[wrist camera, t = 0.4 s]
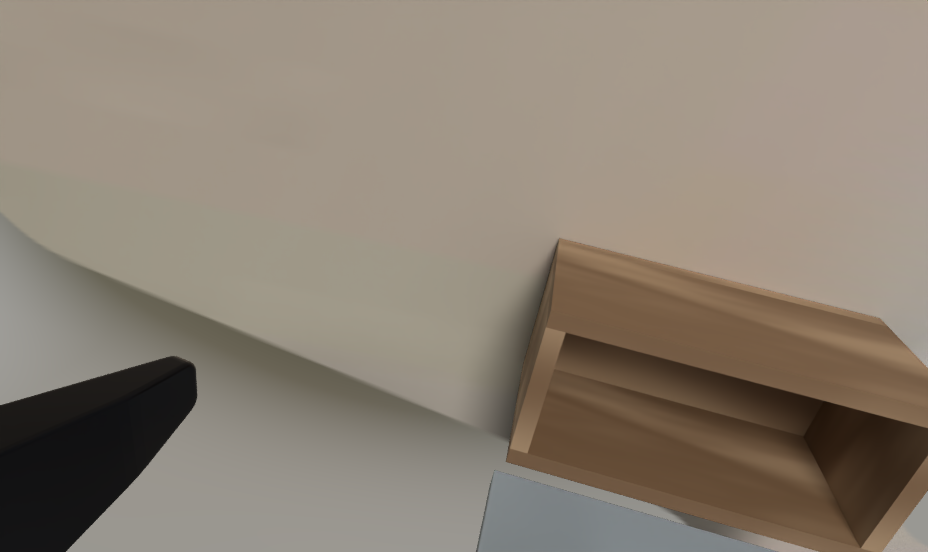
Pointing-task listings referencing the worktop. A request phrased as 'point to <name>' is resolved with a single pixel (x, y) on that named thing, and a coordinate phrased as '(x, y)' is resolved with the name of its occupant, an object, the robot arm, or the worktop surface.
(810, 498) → the walnut box
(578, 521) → the box lid
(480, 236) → the worktop surface
